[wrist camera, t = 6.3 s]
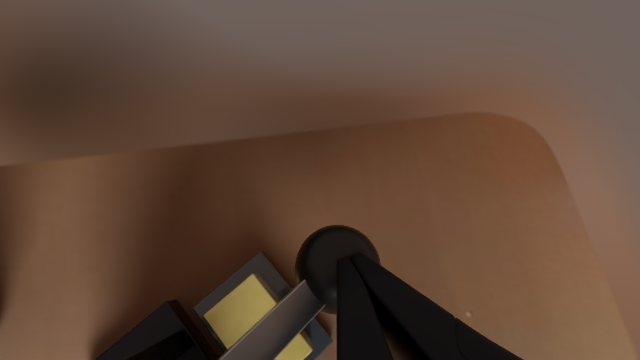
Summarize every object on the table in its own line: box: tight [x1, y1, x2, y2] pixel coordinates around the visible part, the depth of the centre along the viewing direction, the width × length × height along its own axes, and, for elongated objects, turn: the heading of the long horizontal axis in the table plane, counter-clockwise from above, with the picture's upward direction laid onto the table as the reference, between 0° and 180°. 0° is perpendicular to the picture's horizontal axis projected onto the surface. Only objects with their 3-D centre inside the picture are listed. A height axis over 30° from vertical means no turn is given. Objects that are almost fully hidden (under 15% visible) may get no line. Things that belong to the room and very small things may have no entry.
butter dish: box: [193, 251, 333, 360], centre depth 14 cm, size 4×6×2 cm
